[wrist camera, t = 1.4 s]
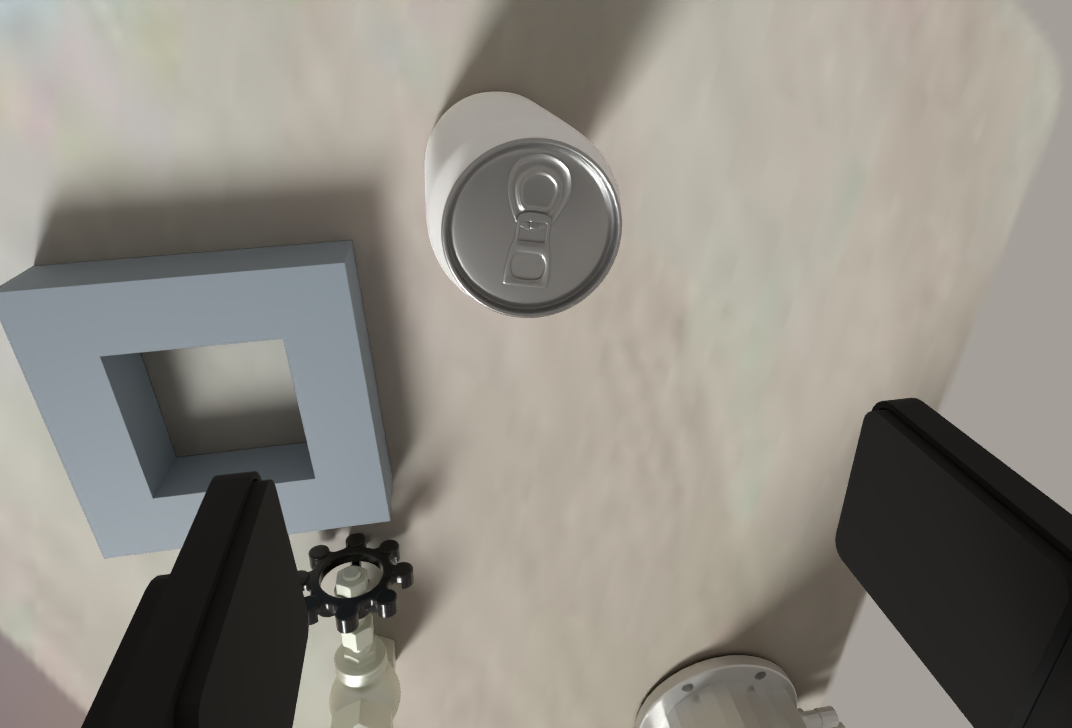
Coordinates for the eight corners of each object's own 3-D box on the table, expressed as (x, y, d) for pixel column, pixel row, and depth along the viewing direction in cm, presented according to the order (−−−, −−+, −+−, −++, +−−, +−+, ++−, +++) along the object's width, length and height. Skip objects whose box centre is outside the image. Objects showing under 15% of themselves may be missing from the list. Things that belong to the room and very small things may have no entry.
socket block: (351, 240, 32) (344, 262, 29) (392, 481, 38) (390, 520, 35) (32, 266, 30) (-12, 293, 27) (131, 513, 36) (104, 558, 33)
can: (574, 100, 30) (656, 138, 20) (551, 239, 33) (613, 337, 23) (430, 78, 29) (436, 106, 19) (418, 225, 32) (418, 322, 21)
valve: (421, 668, 45) (413, 528, 40) (422, 763, 39) (412, 613, 34) (320, 679, 44) (297, 536, 39) (304, 778, 38) (276, 626, 33)
